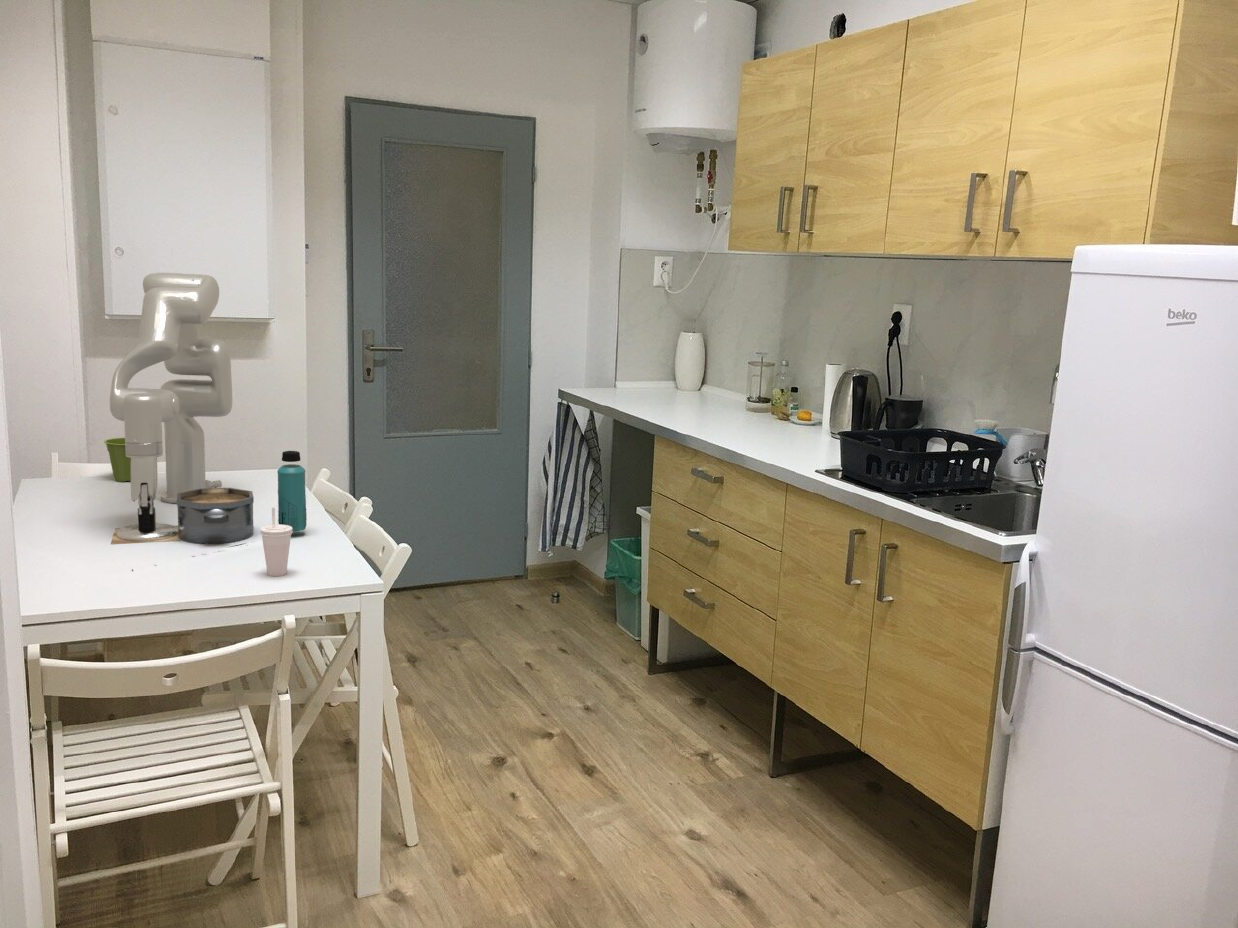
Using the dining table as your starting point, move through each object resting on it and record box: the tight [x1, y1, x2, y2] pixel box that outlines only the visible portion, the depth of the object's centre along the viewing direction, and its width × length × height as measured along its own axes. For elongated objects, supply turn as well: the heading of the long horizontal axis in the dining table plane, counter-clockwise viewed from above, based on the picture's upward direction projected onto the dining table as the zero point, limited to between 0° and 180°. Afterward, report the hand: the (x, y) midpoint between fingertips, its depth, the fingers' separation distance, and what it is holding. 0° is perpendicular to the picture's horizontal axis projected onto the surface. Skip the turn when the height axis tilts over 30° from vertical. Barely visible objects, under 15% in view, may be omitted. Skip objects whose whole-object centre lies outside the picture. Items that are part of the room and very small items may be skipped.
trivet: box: [110, 525, 182, 545], centre depth 230 cm, size 14×14×1 cm
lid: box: [117, 506, 177, 542], centre depth 230 cm, size 12×12×6 cm
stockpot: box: [176, 487, 255, 548], centre depth 232 cm, size 21×16×10 cm
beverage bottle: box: [277, 450, 308, 533], centre depth 238 cm, size 6×7×20 cm
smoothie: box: [259, 506, 294, 577], centre depth 209 cm, size 6×6×14 cm
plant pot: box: [103, 437, 131, 483], centre depth 287 cm, size 12×12×11 cm
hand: (147, 528), depth 230 cm, fingers closed on lid, 3 cm apart
